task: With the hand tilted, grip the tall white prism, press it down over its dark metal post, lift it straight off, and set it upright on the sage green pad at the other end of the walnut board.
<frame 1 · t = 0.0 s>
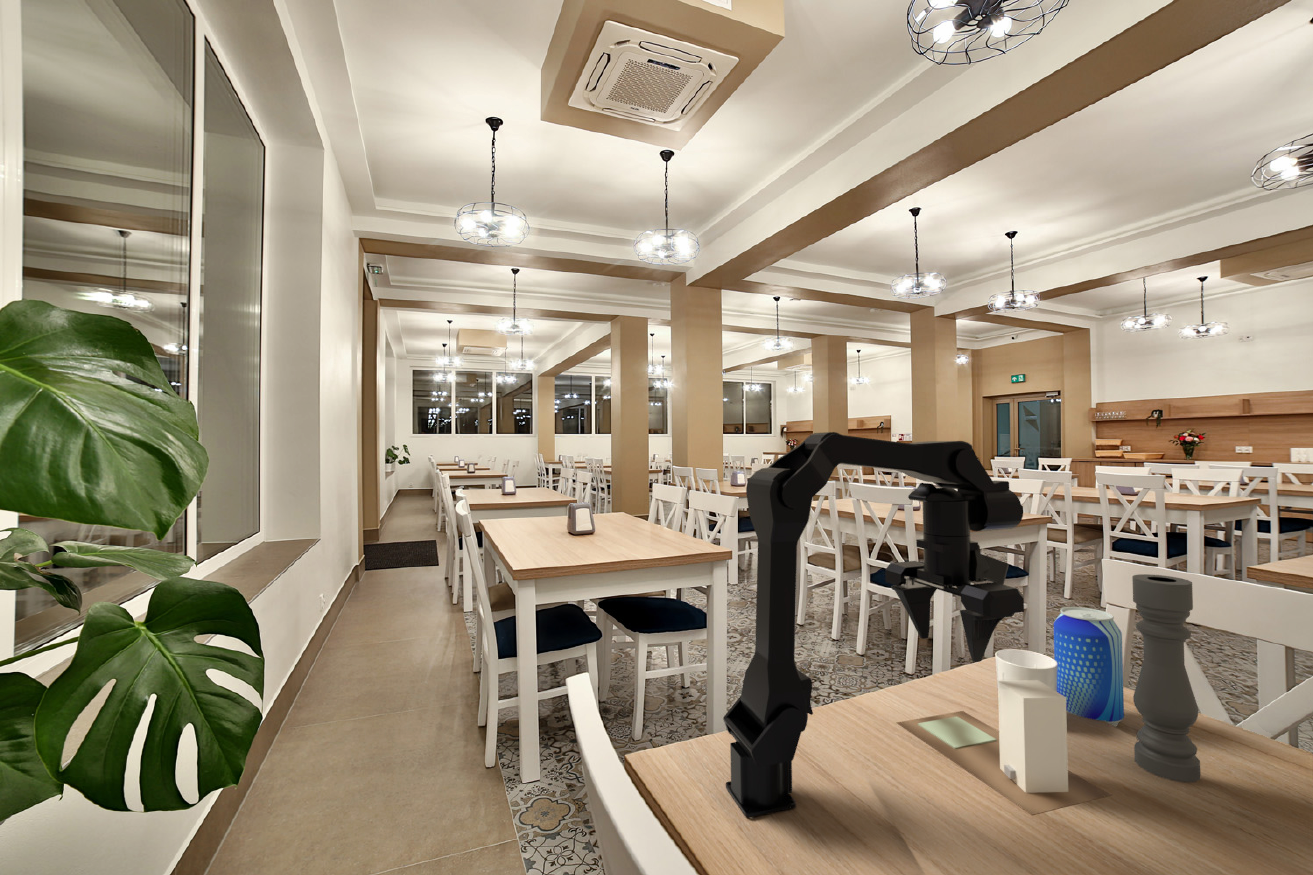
hand: (949, 649, 77), 15 cm above the table, tool pointing down, fingers open, 9 cm apart
beer can: (1089, 718, 88), on the table
white cup: (1027, 726, 86), on the table
tall white prism: (1032, 779, 70), point 1 cm above the table, touching board
candle holder: (1167, 781, 72), on the table
board: (991, 765, 75), on the table
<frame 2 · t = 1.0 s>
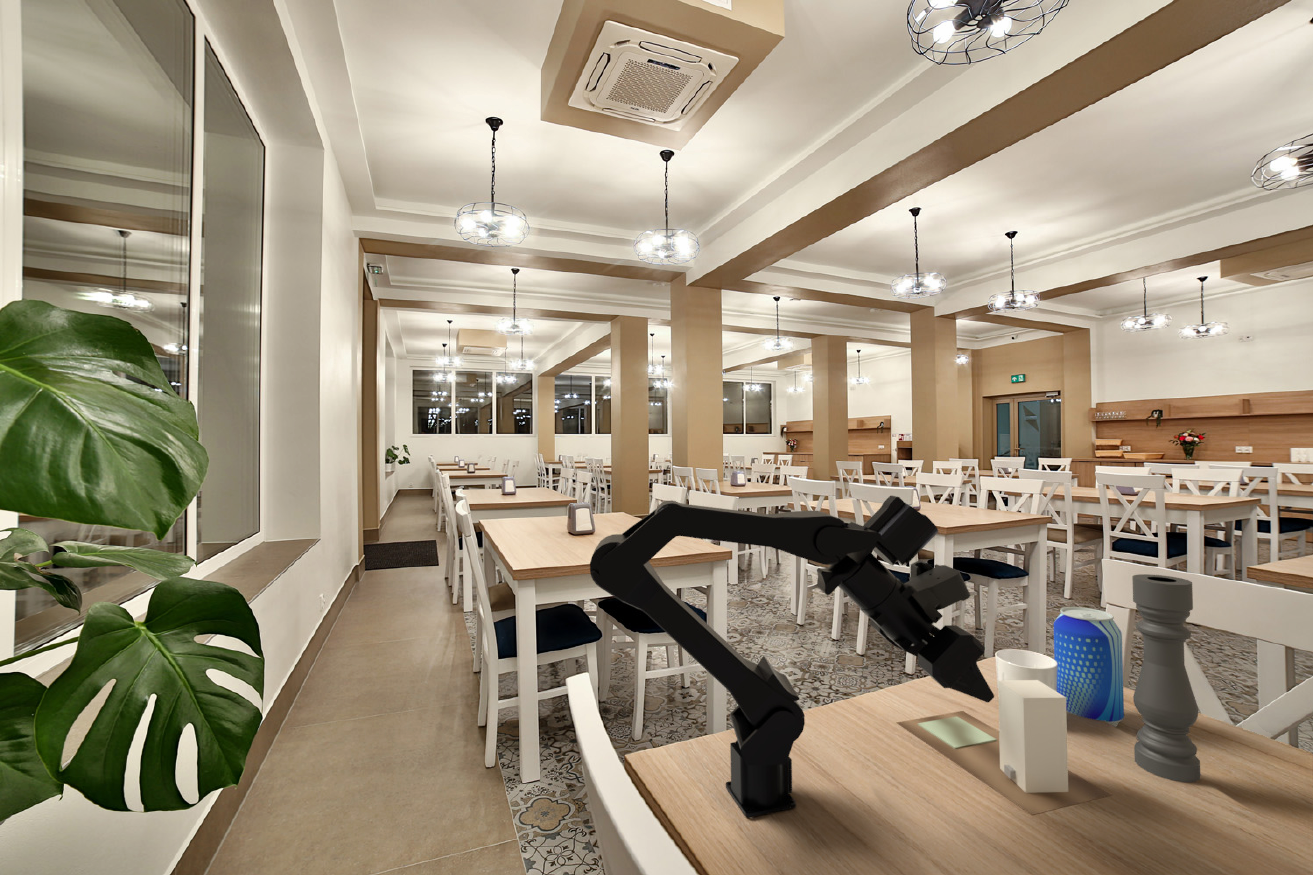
hand: (968, 682, 70), 13 cm above the table, tool tilted 45°, fingers open, 9 cm apart
nothing on the table moved.
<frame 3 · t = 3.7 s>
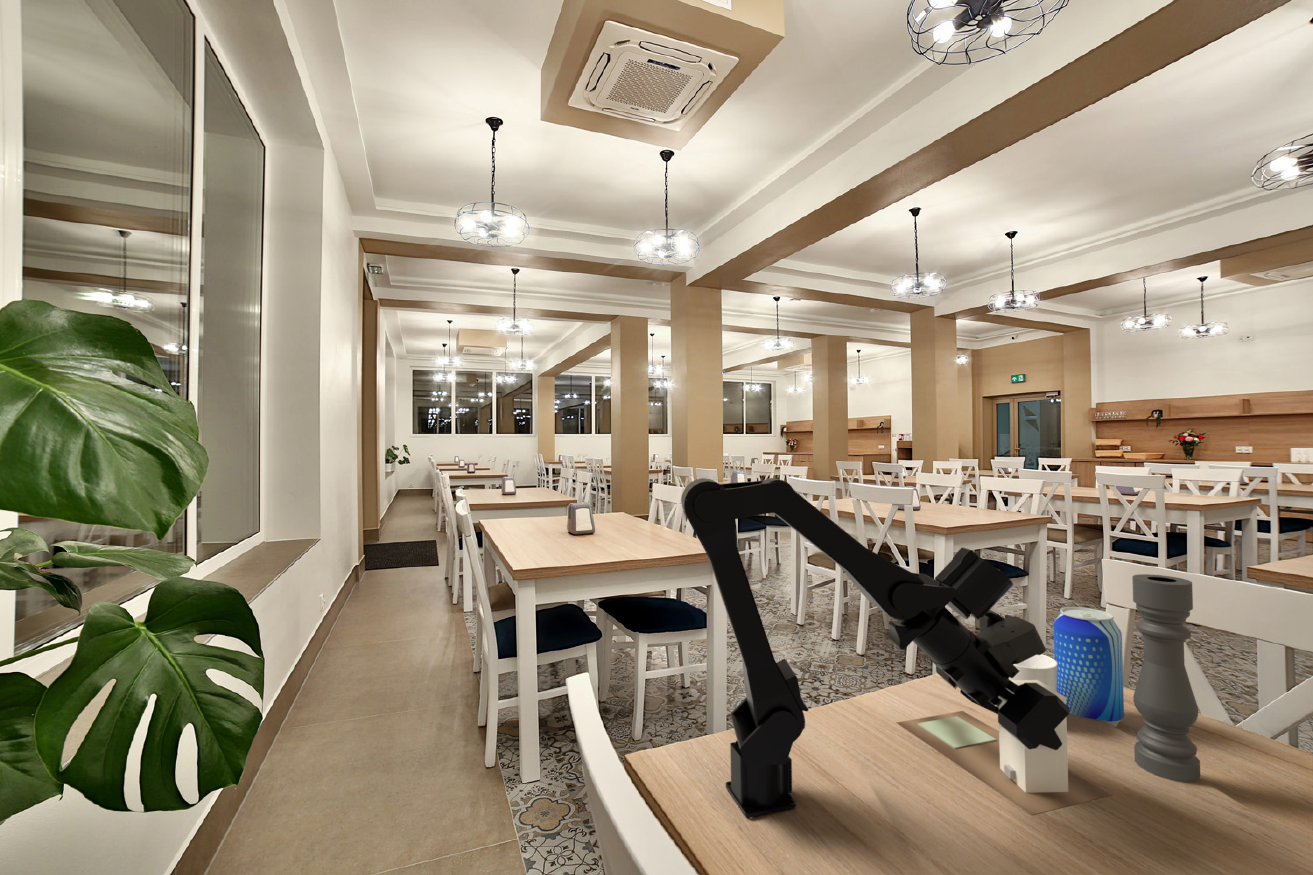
hand: (1043, 735, 70), 7 cm above the table, tool tilted 45°, fingers closed on tall white prism, 5 cm apart
tall white prism: (1032, 779, 70), point 2 cm above the table, touching board, gripper
everything else where it was.
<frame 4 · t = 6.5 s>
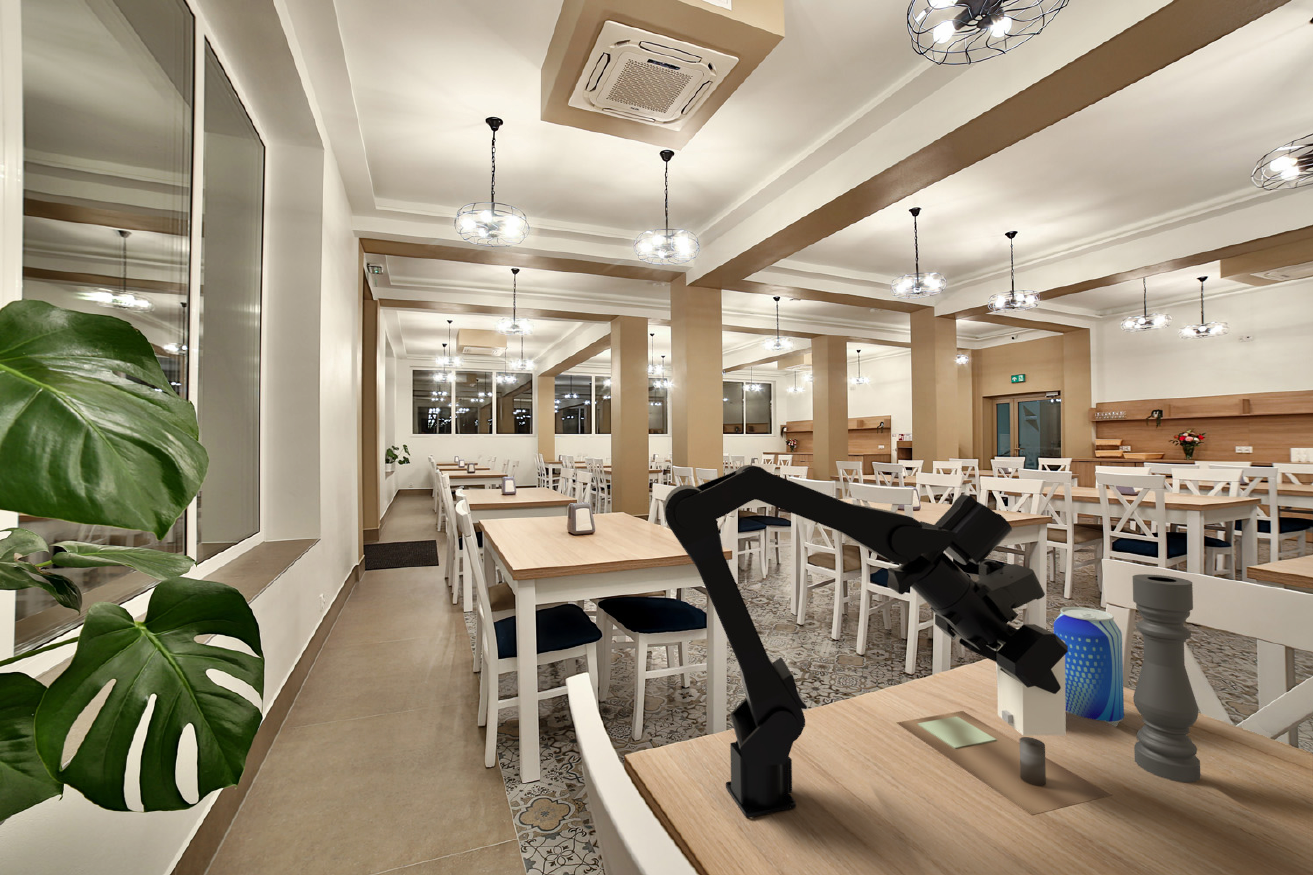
hand: (1042, 681, 70), 13 cm above the table, tool tilted 45°, fingers closed on tall white prism, 5 cm apart
tall white prism: (1030, 725, 70), point 8 cm above the table, touching gripper
everything else where it was.
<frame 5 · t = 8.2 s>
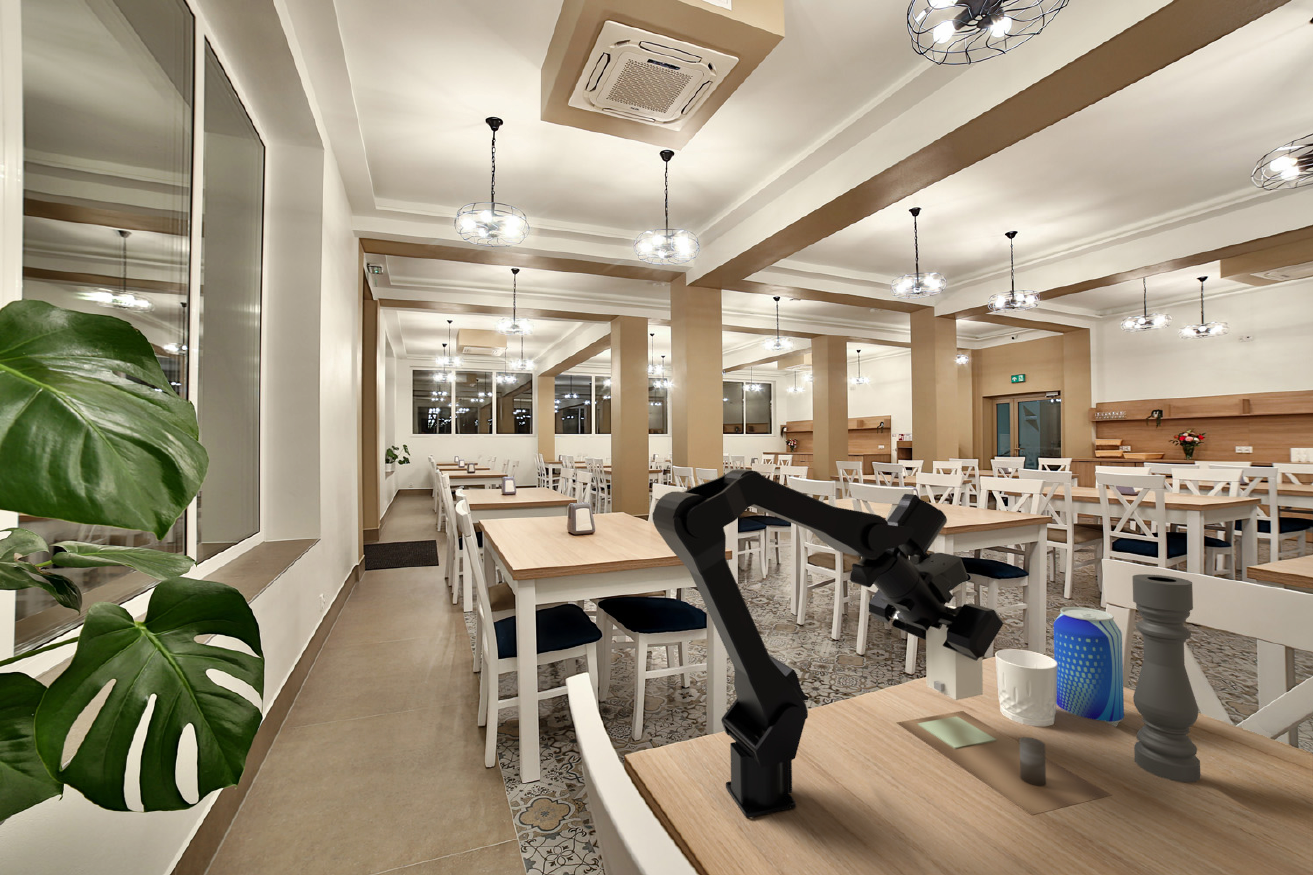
hand: (961, 651, 82), 13 cm above the table, tool tilted 45°, fingers closed on tall white prism, 5 cm apart
tall white prism: (954, 690, 81), point 8 cm above the table, touching gripper
everything else where it was.
when the fingers open (8 cm above the table, at t = 9.6 s): tall white prism stays where it is, resting on board.
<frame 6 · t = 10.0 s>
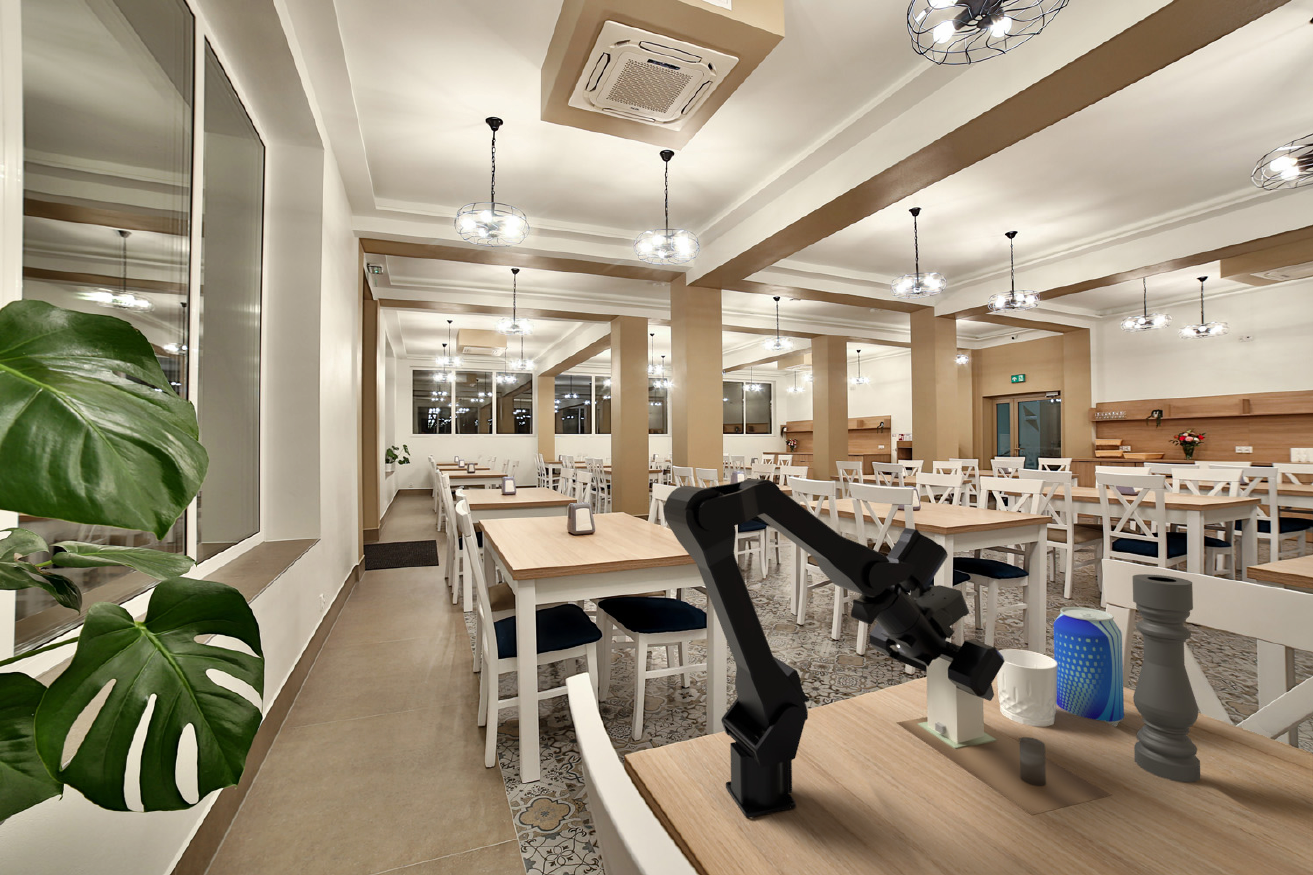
hand: (962, 684, 82), 8 cm above the table, tool tilted 45°, fingers open, 9 cm apart
tall white prism: (955, 731, 81), point 2 cm above the table, touching board
everything else where it was.
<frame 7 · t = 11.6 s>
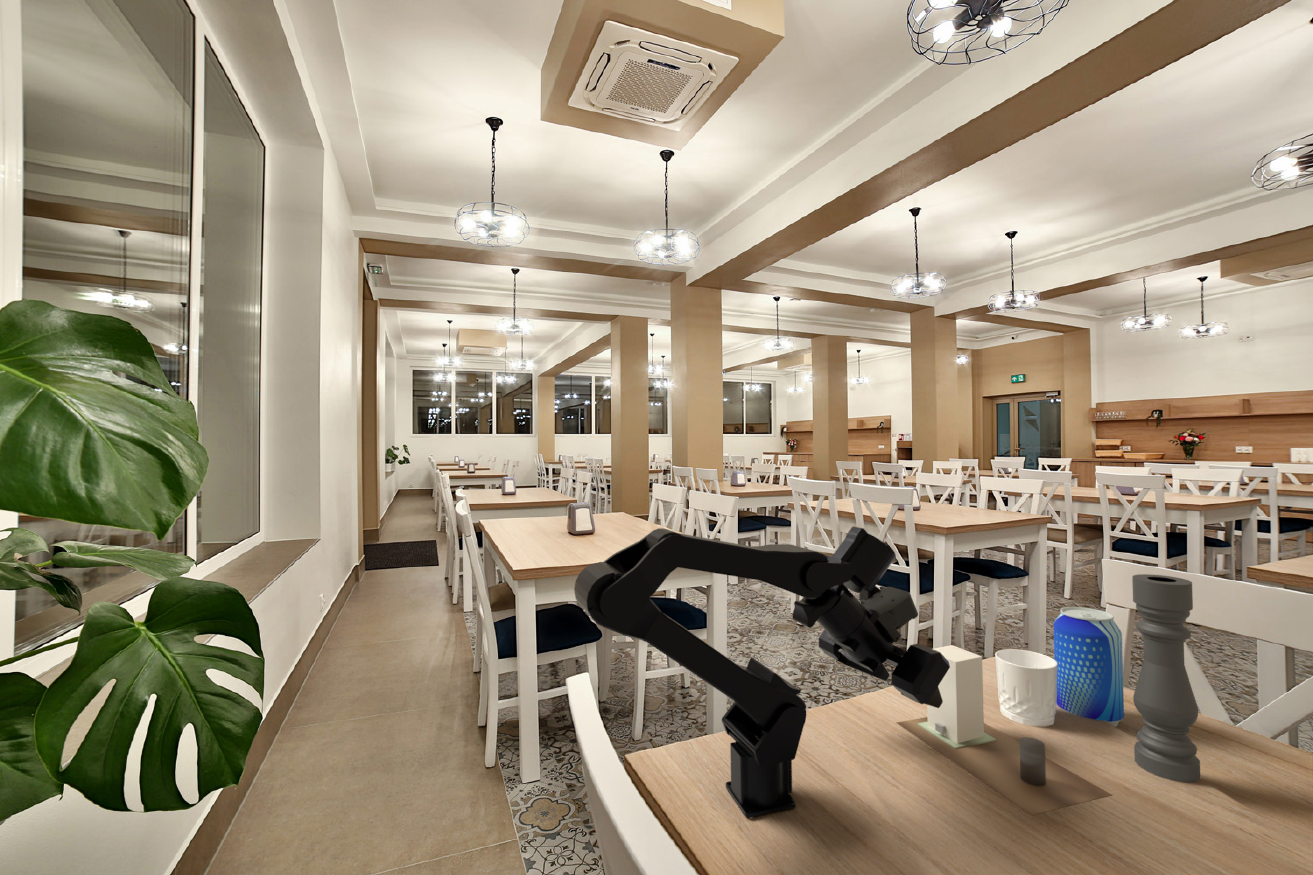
hand: (912, 690, 78), 9 cm above the table, tool tilted 45°, fingers open, 9 cm apart
nothing on the table moved.
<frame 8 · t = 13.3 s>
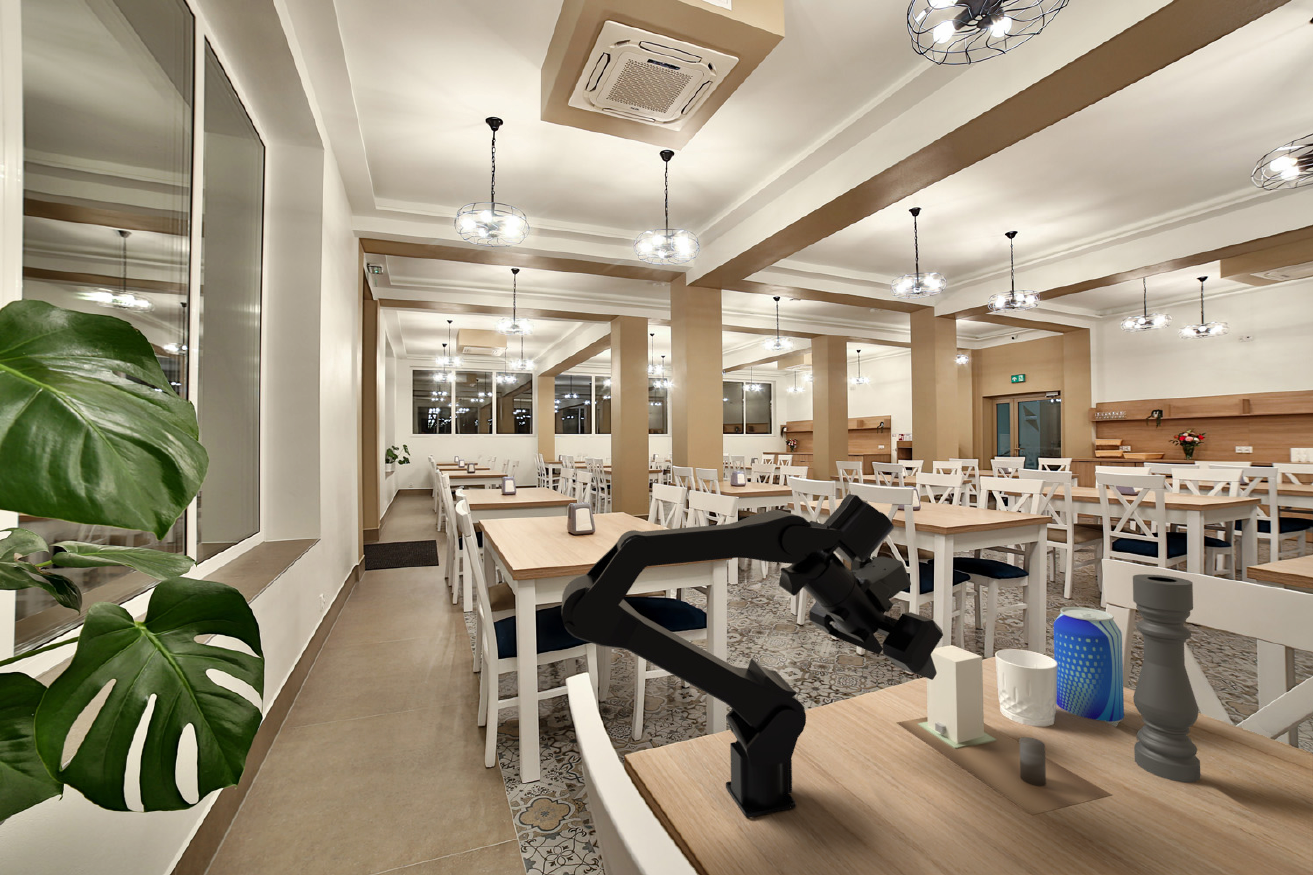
hand: (905, 663, 76), 14 cm above the table, tool tilted 45°, fingers open, 9 cm apart
nothing on the table moved.
at the end: tall white prism 0.1 cm from the target spot on the board, point 1.7 cm above the board's base; tall white prism tilted 0°; the gripper is holding nothing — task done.
